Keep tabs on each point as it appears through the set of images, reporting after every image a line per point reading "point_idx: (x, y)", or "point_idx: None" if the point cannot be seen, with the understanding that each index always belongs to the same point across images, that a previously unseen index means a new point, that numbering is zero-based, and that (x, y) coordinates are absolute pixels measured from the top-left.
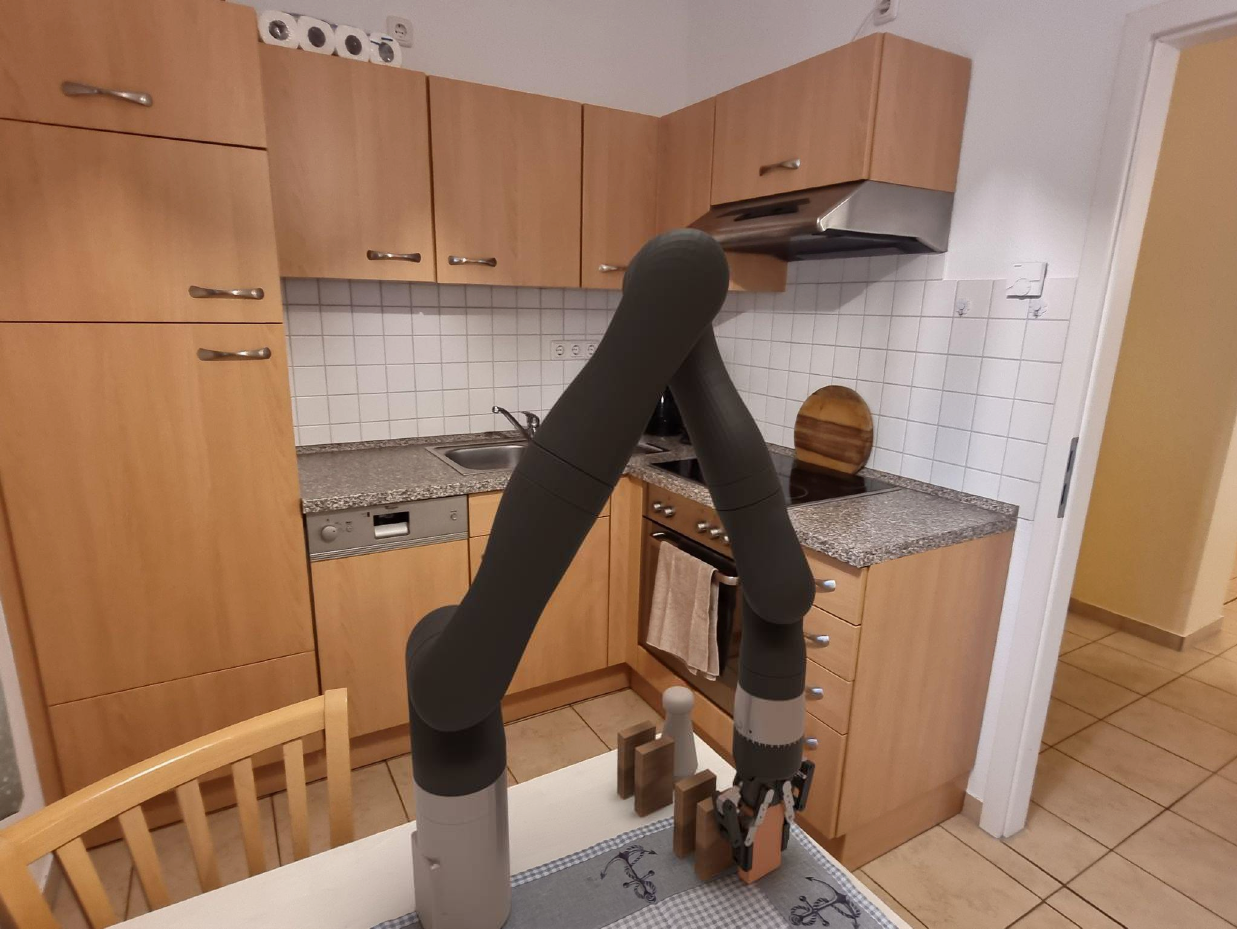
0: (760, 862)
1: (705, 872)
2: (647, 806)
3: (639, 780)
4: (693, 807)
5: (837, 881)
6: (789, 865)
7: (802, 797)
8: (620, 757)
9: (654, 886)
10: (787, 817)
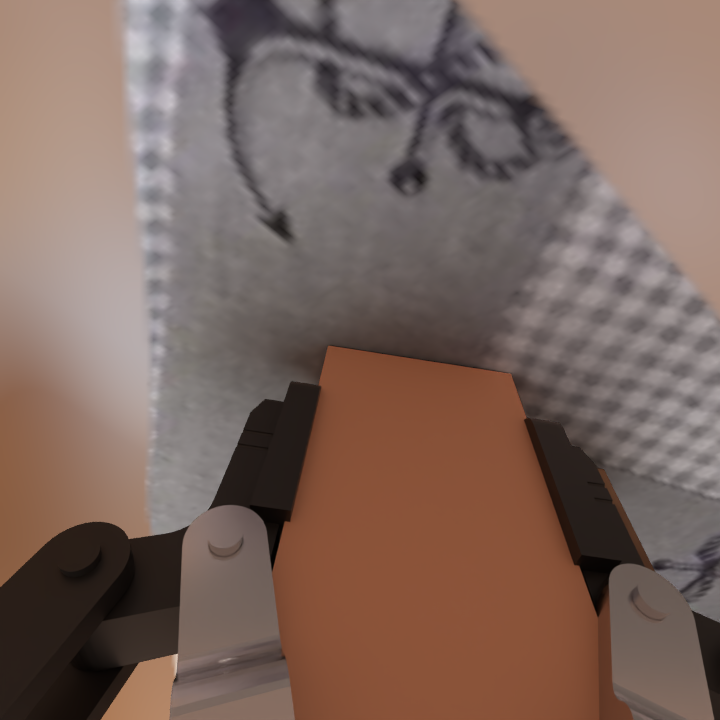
0: (458, 413)
1: (613, 499)
2: None
3: None
4: None
5: (172, 110)
6: (295, 322)
7: (18, 668)
8: None
9: (711, 540)
10: (259, 564)
